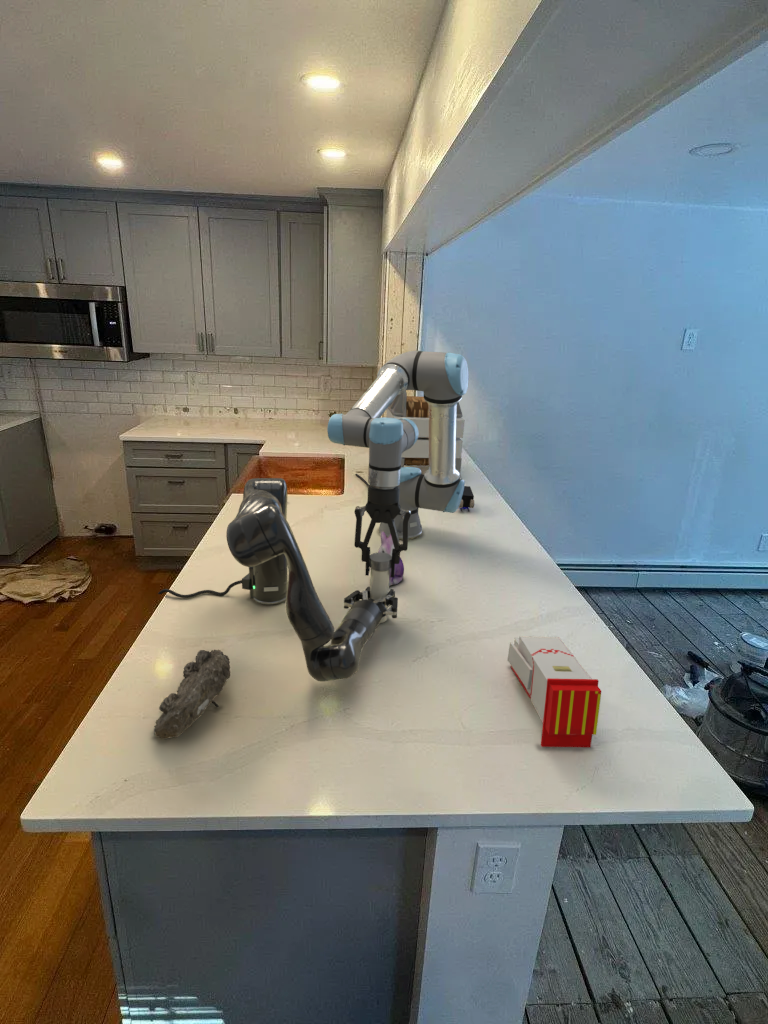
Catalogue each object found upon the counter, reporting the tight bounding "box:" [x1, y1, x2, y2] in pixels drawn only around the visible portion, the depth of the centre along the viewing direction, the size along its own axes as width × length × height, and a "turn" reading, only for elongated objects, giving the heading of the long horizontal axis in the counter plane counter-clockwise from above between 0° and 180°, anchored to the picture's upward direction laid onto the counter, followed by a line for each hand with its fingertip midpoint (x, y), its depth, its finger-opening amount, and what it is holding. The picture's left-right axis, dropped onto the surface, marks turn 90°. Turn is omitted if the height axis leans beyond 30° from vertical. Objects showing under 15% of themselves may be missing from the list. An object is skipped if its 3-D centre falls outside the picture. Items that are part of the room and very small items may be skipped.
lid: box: [369, 551, 392, 571], centre depth 140 cm, size 6×6×2 cm
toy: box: [507, 635, 602, 748], centre depth 115 cm, size 12×13×30 cm
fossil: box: [153, 649, 231, 740], centre depth 109 cm, size 22×10×15 cm
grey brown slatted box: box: [385, 390, 465, 479], centre depth 268 cm, size 34×33×41 cm
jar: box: [369, 568, 390, 624], centre depth 142 cm, size 5×5×16 cm
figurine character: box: [458, 485, 475, 513], centre depth 228 cm, size 7×8×15 cm
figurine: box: [377, 531, 405, 587], centre depth 163 cm, size 9×10×15 cm
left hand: (382, 590), depth 145 cm, fingers closed on jar, 4 cm apart
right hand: (380, 573), depth 141 cm, fingers closed on lid, 6 cm apart
